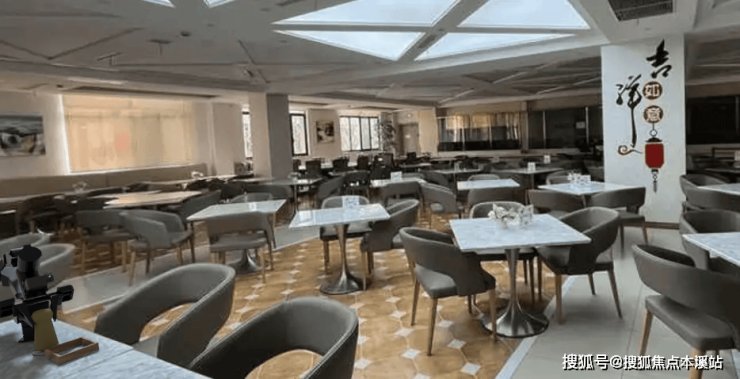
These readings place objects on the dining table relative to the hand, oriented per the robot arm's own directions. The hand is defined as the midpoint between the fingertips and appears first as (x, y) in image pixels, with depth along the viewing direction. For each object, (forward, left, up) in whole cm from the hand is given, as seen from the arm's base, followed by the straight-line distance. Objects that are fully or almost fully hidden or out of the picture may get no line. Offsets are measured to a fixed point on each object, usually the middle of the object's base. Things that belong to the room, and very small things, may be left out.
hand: (44, 323), depth 137 cm
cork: (-1, -1, -7) cm, 7 cm away
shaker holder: (+4, +8, -8) cm, 12 cm away
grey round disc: (-1, -1, -8) cm, 8 cm away
